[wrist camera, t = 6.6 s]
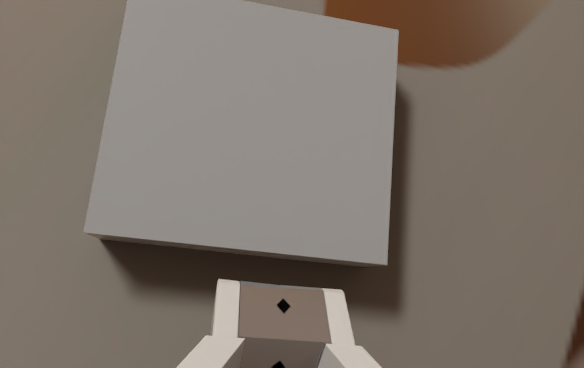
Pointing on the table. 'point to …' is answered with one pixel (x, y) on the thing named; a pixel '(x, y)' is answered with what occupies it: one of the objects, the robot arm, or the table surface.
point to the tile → (248, 133)
